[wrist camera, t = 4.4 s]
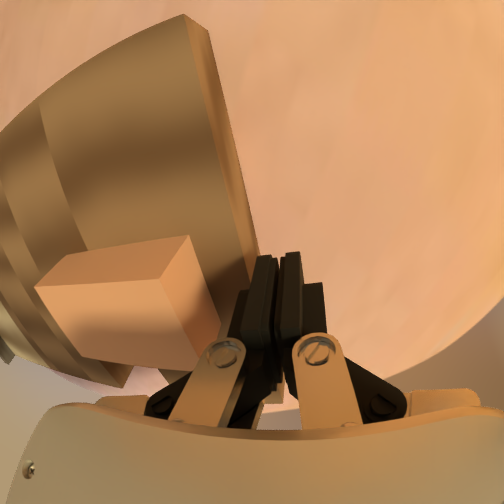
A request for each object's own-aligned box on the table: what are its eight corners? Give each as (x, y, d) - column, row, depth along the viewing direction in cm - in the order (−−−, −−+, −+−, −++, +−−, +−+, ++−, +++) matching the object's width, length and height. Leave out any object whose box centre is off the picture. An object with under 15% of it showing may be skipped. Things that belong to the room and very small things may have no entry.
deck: (-49, 208, 17) (-73, 226, 13) (207, 30, 9) (158, -2, 5) (21, 340, 28) (5, 362, 24) (285, 370, 20) (280, 427, 15)
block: (66, 254, 13) (34, 286, 10) (188, 234, 11) (159, 278, 8) (104, 322, 15) (82, 356, 13) (221, 323, 13) (206, 372, 11)
